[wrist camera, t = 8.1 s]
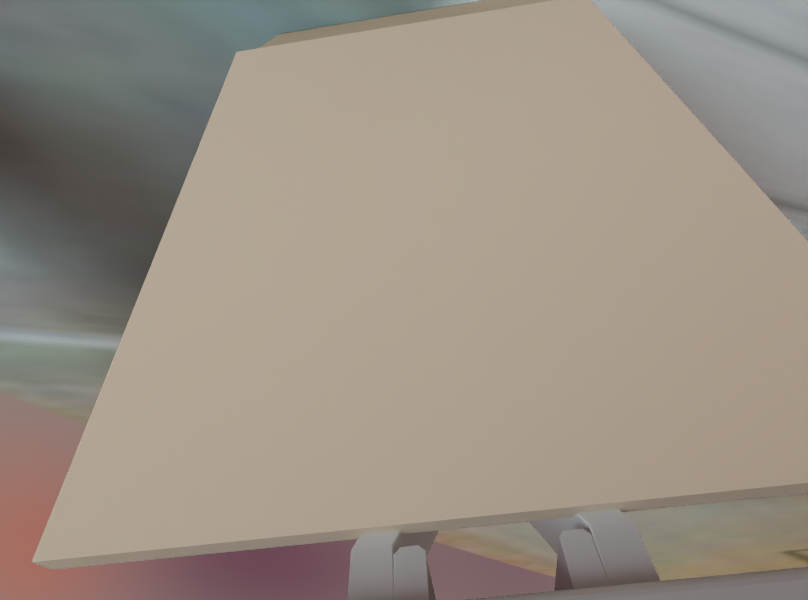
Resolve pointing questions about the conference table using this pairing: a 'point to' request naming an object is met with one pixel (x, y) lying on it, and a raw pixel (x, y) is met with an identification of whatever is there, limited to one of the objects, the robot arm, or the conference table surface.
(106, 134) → the conference table surface
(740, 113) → the conference table surface
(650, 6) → the conference table surface
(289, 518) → the carton flap
